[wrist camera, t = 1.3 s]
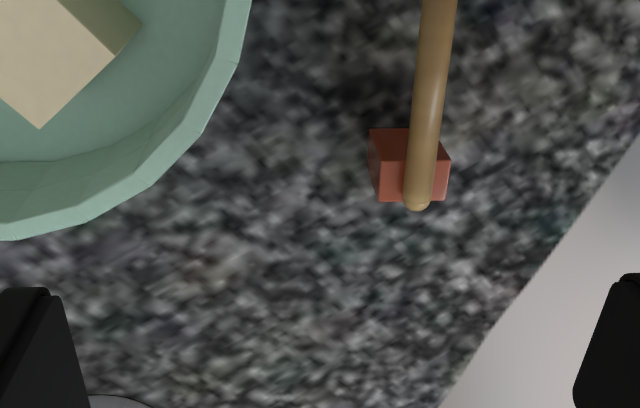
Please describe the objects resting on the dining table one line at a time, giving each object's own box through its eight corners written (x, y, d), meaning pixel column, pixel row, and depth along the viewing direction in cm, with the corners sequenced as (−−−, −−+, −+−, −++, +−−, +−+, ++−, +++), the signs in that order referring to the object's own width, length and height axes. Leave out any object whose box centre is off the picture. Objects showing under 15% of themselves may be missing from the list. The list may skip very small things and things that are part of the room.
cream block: (-8, 11, 21) (-69, 41, 18) (59, -61, 20) (9, -46, 16) (77, 87, 23) (38, 130, 19) (143, 24, 22) (115, 56, 18)
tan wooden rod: (430, -118, 18) (440, -117, 17) (467, -118, 18) (479, -117, 17) (398, 202, 24) (404, 217, 23) (425, 201, 24) (432, 216, 23)
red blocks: (384, -120, 21) (402, -119, 18) (462, -119, 21) (494, -117, 18) (366, 166, 27) (377, 202, 24) (426, 165, 27) (446, 201, 24)
